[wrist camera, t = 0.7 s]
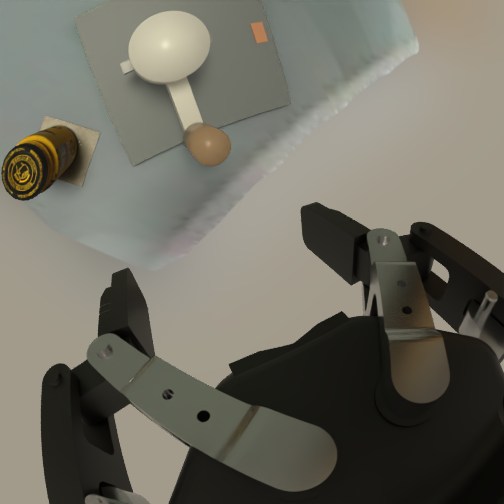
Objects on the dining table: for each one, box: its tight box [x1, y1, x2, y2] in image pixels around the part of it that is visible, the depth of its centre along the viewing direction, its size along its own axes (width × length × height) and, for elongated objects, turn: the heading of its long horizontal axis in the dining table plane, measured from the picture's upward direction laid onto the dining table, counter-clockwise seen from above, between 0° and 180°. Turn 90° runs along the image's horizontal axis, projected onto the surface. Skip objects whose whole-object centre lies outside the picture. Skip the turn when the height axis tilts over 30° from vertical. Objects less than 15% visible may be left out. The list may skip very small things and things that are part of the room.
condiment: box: [1, 116, 100, 201], centre depth 21 cm, size 7×8×12 cm
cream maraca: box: [120, 11, 231, 166], centre depth 20 cm, size 15×9×8 cm, turn 17°
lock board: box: [74, 0, 291, 166], centre depth 23 cm, size 22×22×5 cm
